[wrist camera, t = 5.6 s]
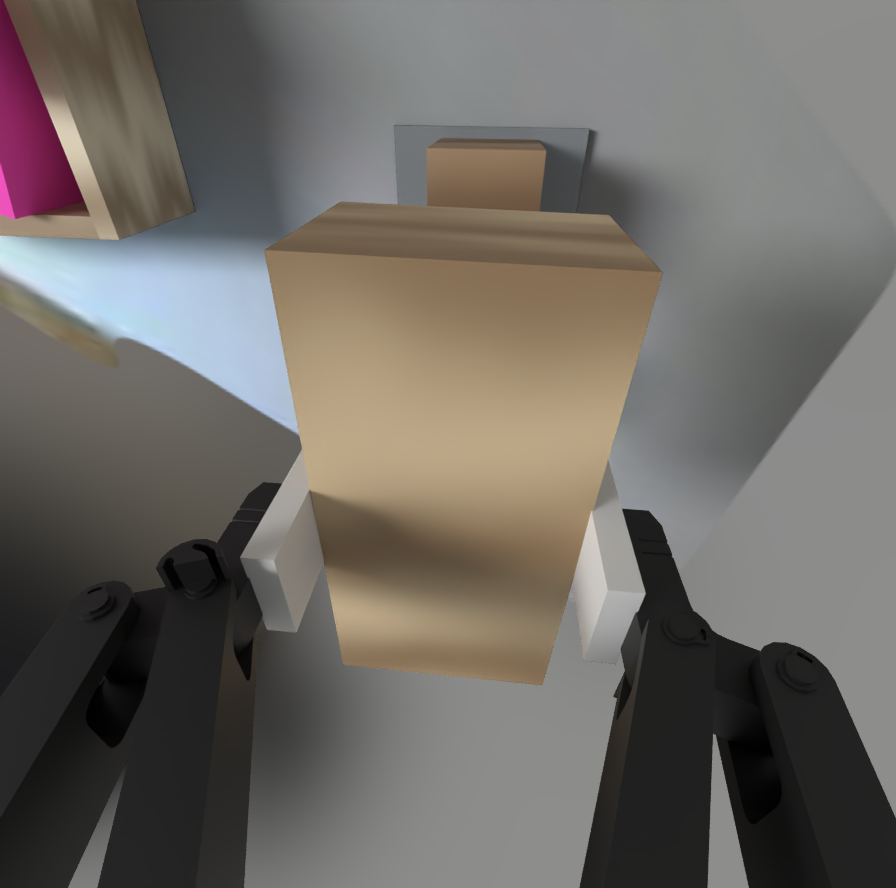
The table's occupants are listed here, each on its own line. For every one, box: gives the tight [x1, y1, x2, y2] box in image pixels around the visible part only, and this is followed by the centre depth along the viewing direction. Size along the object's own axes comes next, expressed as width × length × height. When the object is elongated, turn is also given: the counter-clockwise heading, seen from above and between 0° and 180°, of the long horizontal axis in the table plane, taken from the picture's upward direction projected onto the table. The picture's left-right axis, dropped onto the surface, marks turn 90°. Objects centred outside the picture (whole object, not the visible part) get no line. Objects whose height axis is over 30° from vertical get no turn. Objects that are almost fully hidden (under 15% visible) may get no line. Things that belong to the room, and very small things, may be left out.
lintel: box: [264, 202, 663, 685], centre depth 14 cm, size 14×7×5 cm, turn 178°
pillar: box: [427, 138, 546, 212], centre depth 24 cm, size 5×5×6 cm
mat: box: [394, 125, 589, 213], centre depth 29 cm, size 16×10×1 cm, turn 179°
